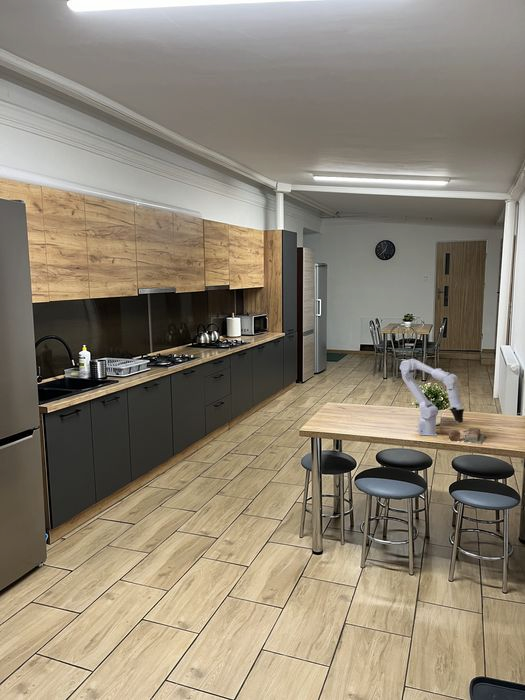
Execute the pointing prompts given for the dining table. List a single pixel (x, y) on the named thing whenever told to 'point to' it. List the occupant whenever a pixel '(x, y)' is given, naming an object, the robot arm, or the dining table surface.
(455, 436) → the walnut cube
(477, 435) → the packaged product
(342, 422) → the dining table surface
